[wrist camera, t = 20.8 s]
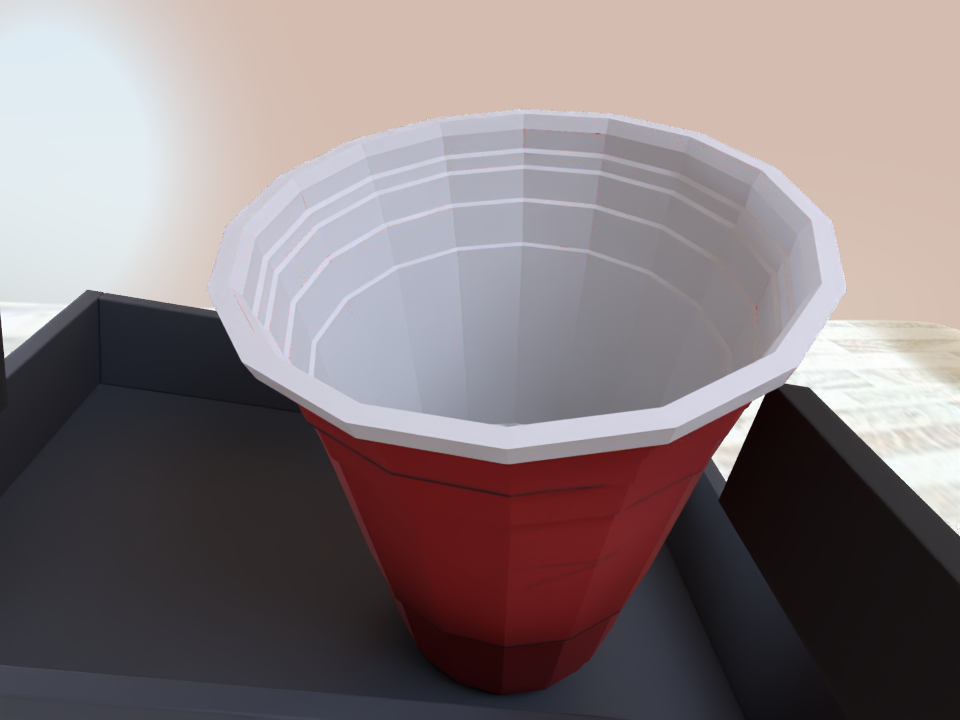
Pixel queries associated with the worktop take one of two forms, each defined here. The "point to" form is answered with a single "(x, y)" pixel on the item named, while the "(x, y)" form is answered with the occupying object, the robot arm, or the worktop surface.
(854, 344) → the worktop surface
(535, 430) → the plastic cup
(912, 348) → the worktop surface
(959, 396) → the worktop surface
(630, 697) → the dark grey tray
